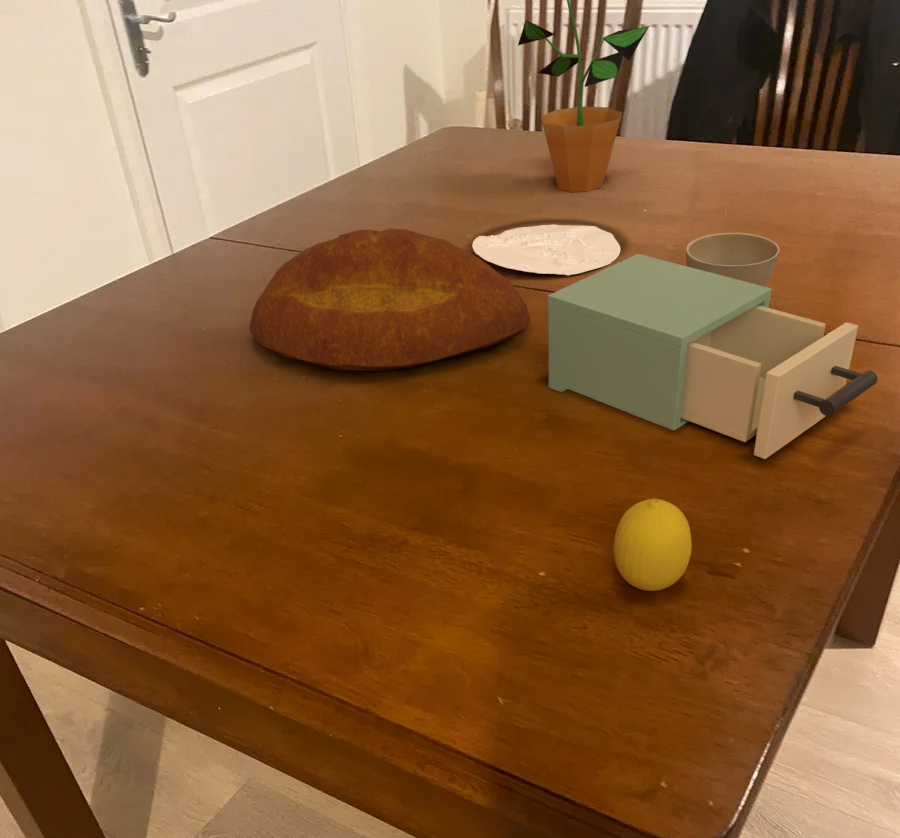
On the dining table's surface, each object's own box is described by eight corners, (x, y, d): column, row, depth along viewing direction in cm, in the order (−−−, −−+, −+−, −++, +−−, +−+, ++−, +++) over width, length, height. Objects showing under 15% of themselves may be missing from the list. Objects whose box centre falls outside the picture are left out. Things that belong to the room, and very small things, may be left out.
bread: (285, 305, 118) (265, 204, 110) (539, 304, 112) (538, 198, 104) (226, 381, 102) (198, 270, 94) (518, 385, 96) (515, 267, 88)
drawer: (881, 418, 84) (901, 336, 78) (805, 475, 77) (822, 390, 72) (709, 362, 95) (718, 287, 90) (632, 408, 88) (636, 330, 83)
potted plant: (509, 178, 153) (502, -40, 134) (617, 163, 154) (625, -54, 135) (536, 209, 139) (532, -28, 120) (654, 193, 141) (669, -44, 122)
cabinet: (757, 383, 92) (772, 288, 86) (673, 437, 86) (682, 338, 79) (633, 342, 102) (638, 253, 95) (548, 387, 95) (547, 295, 89)
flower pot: (665, 303, 109) (670, 242, 104) (740, 287, 111) (748, 227, 106) (707, 335, 102) (715, 270, 97) (787, 317, 103) (798, 254, 99)
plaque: (452, 272, 121) (452, 261, 120) (496, 224, 135) (496, 214, 134) (603, 288, 116) (604, 276, 115) (631, 237, 130) (632, 226, 129)
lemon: (630, 620, 67) (635, 530, 61) (600, 575, 71) (603, 488, 66) (699, 602, 67) (711, 513, 62) (666, 560, 72) (674, 472, 67)
